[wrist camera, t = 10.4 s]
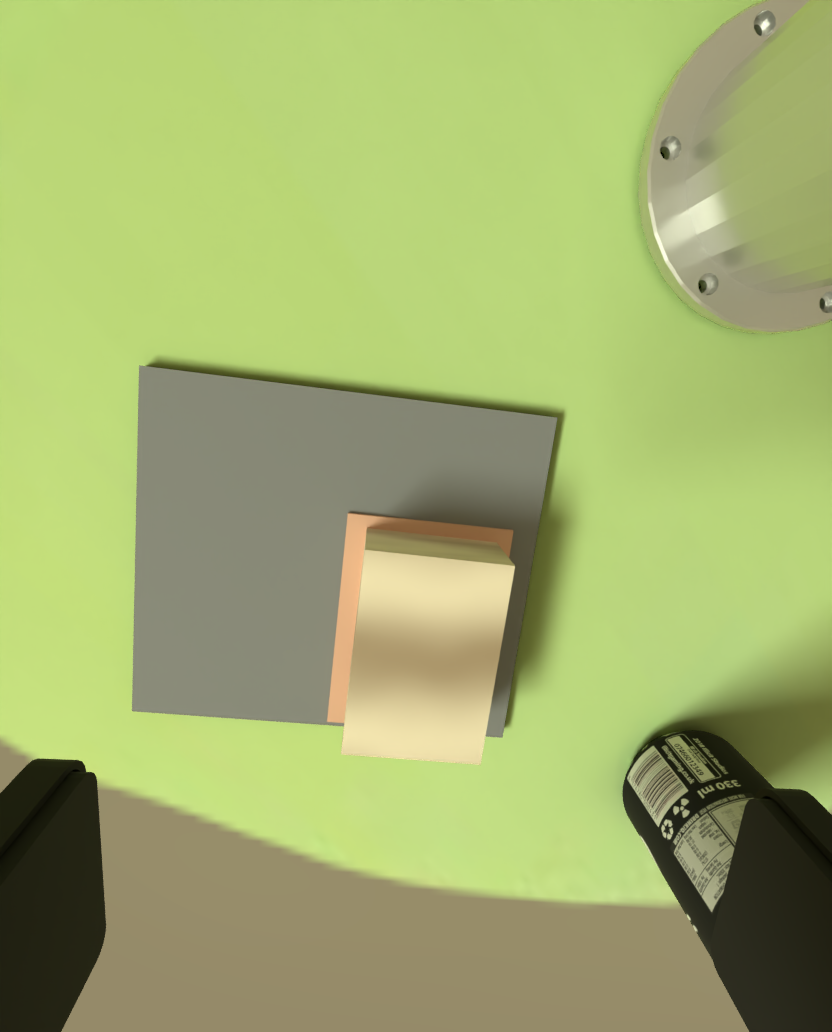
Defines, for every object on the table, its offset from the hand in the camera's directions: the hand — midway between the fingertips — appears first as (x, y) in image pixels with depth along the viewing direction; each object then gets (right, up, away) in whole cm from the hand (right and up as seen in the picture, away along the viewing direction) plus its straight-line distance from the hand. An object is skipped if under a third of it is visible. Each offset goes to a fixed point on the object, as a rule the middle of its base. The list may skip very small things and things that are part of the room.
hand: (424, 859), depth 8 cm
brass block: (0, 0, +19) cm, 19 cm away
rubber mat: (-4, +3, +19) cm, 19 cm away
